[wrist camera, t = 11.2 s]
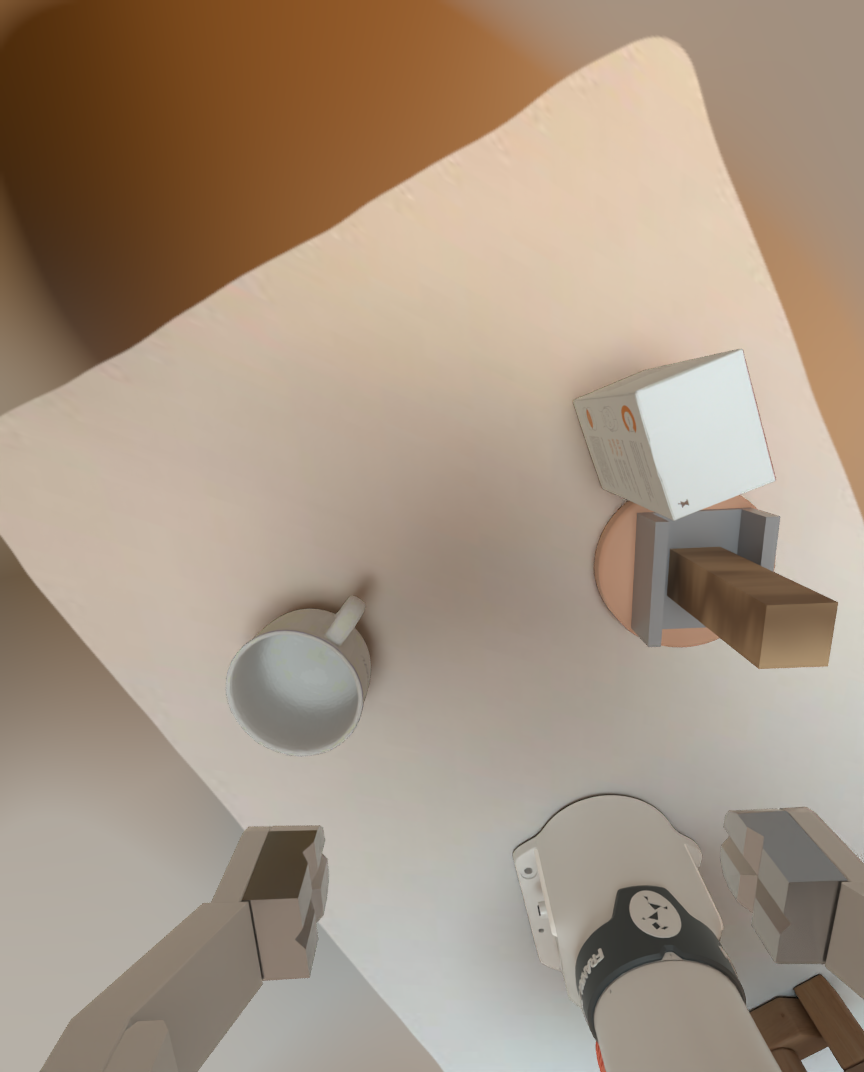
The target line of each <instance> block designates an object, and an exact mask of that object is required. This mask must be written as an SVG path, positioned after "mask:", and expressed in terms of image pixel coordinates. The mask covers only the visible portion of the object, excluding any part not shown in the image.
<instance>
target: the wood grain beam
mask: <svg viewBox="0 0 864 1072" xmlns="http://www.w3.org/2000/svg"><path fill="white" fill-rule="evenodd" d="M667 596H668V597H669V598H671V599H672V600H673V601H674V602H676V603H677V604H678V605H679V606H681V607H682V608H683V609H684V610H686V611H687V612H688V613H689V614H691V615H692V616H693V617H694V618H696V619H697V620H698V621H699V622H701V623H702V624H703V625H704V626H706V627H707V628H708V629H709V630H711V631H712V632H713V633H714V634H716V635H717V636H718V637H719V638H721V639H722V640H723V641H725V642H726V643H727V644H728V645H730V646H731V647H732V648H733V649H735V650H736V651H737V652H738V653H740V654H741V655H742V656H743V657H745V658H746V659H747V660H748V661H750V662H751V663H752V664H753V665H755V666H756V667H757V668H758V669H768V668H795V667H821V666H828V662H829V656H830V650H831V643H832V637H833V631H834V625H835V619H836V613H837V606H838V602H836V601H834V600H832V599H830V598H828V597H825V596H823V595H821V594H819V593H817V592H815V591H813V590H811V589H809V588H806V587H804V586H802V585H800V584H798V583H796V582H794V581H792V580H790V579H787V578H785V577H783V576H781V575H779V574H777V573H775V572H773V571H771V570H769V569H766V568H764V567H762V566H760V565H758V564H756V563H754V562H752V561H750V560H747V559H745V558H743V557H741V556H739V555H737V554H735V553H733V552H731V551H728V550H726V549H724V548H722V547H701V548H678V549H670V558H669V572H668V586H667Z"/></svg>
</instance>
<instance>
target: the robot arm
mask: <svg viewBox="0 0 864 1072" xmlns="http://www.w3.org/2000/svg"><path fill="white" fill-rule="evenodd" d="M723 827H724V828H725V830H726V831H727V833H728V834H729V837H728V838H727V840H726V841H725V842H724V843H723V844H722V845H721V855H720V861H721V866H722V870H723V875H724V878H725V880H726V882H727V885H728V887H729V889H730V891H731V892H732V894H733V896H734V897H735V899H736V901H737V902H738V903H740V904H741V905H742V906H744V907H745V908H746V909H748V910H749V911H750V912H752V913H753V914H752V927H753V928H754V930H755V932H756V933H757V935H758V936H759V938H760V940H761V941H762V943H763V944H764V946H765V948H766V949H767V951H768V953H769V954H770V956H771V957H772V959H773V961H774V962H775V964H825V967H826V968H827V969H828V970H830V971H831V972H832V973H833V974H834V975H835V976H837V977H838V978H839V979H840V980H841V981H843V982H844V983H845V984H846V985H847V986H848V987H850V988H851V989H852V990H853V991H854V992H855V993H857V994H858V995H859V996H860V997H861V998H863V999H864V863H863V862H862V861H861V860H860V859H859V858H858V857H857V856H856V855H855V854H854V853H853V852H852V851H851V850H850V849H849V848H848V847H847V845H846V844H845V843H844V842H843V841H842V840H841V839H840V838H839V837H838V836H837V835H836V834H835V833H834V832H833V831H832V830H831V829H830V828H829V827H828V826H827V825H826V823H825V822H824V821H823V820H822V819H821V818H820V817H819V816H818V815H817V814H816V813H815V812H814V811H812V810H811V809H809V808H807V807H796V808H780V809H755V810H734V811H728V813H727V814H726V815H725V819H724V826H723ZM324 843H325V837H324V830H323V827H322V826H320V825H319V826H273V827H248V828H247V829H246V830H245V831H244V832H243V833H242V836H241V838H240V840H239V842H238V844H237V847H236V849H235V851H234V853H233V855H232V857H231V860H230V862H229V864H228V866H227V868H226V871H225V873H224V875H223V877H222V879H221V882H220V884H219V886H218V888H217V890H216V892H215V895H214V897H213V899H212V901H211V903H203V904H202V905H200V906H199V907H198V908H197V909H196V910H195V911H194V912H193V913H192V914H190V915H189V916H188V917H187V918H186V919H185V920H183V921H182V922H181V923H180V924H179V925H178V926H177V927H175V928H174V929H173V930H172V931H171V932H170V933H169V934H168V935H166V937H164V938H163V939H162V940H161V941H160V942H159V943H157V944H156V945H155V946H154V947H153V948H152V949H151V950H150V951H148V952H147V953H146V954H145V955H144V956H143V957H142V958H140V959H139V960H138V961H137V962H136V963H135V964H133V965H132V966H131V967H130V968H129V969H128V970H127V971H126V972H124V973H123V974H122V975H121V976H120V977H119V978H118V979H117V980H115V981H114V982H113V983H112V984H111V985H110V986H109V987H107V989H105V990H104V991H103V992H102V993H101V994H100V995H98V996H97V997H96V998H95V999H94V1000H93V1001H92V1002H91V1003H89V1004H88V1005H87V1006H86V1007H85V1008H84V1009H82V1010H81V1011H80V1012H79V1013H78V1014H77V1015H76V1016H75V1017H73V1018H72V1019H71V1021H70V1022H69V1024H68V1025H67V1027H66V1029H65V1030H64V1032H63V1034H62V1035H61V1037H60V1039H59V1040H58V1042H57V1044H56V1045H55V1047H54V1049H53V1050H52V1052H51V1054H50V1055H49V1057H48V1059H47V1060H46V1062H45V1064H44V1066H43V1067H42V1069H41V1070H40V1072H198V1070H199V1069H200V1068H201V1066H202V1065H203V1064H204V1062H205V1061H206V1060H207V1058H208V1057H209V1055H210V1054H211V1053H212V1052H213V1050H214V1049H215V1047H216V1046H217V1045H218V1043H219V1042H220V1040H221V1039H222V1038H223V1037H224V1035H225V1034H226V1033H227V1031H228V1030H229V1029H230V1027H231V1026H232V1025H233V1023H234V1022H235V1021H236V1019H237V1018H238V1017H239V1015H240V1014H241V1013H242V1011H243V1010H244V1009H245V1007H246V1006H247V1005H248V1003H249V1002H250V1001H251V999H252V998H253V997H254V995H255V994H256V992H257V991H258V990H259V989H260V987H261V986H262V984H263V982H262V981H266V980H282V979H297V978H309V977H310V974H311V970H312V965H313V960H314V956H315V952H316V947H317V942H318V932H317V924H316V923H317V922H318V921H319V920H320V918H321V917H322V916H323V915H324V911H325V906H326V901H327V893H328V883H329V870H328V860H327V858H326V857H325V856H324V855H323V854H322V851H323V847H324ZM513 860H514V864H515V868H516V872H517V875H518V879H519V883H520V887H521V891H522V895H523V899H524V903H525V907H526V910H527V914H528V918H529V922H530V926H531V930H532V934H533V938H534V942H535V945H536V949H537V953H538V956H539V959H540V961H541V963H542V964H544V965H546V966H548V967H550V968H553V969H556V970H559V971H562V972H563V977H564V981H565V985H566V990H567V994H568V997H569V999H570V1000H571V1001H572V1002H573V1003H574V1004H576V1005H577V1006H579V1007H581V1008H582V1011H583V1014H584V1017H585V1019H586V1022H587V1023H588V1025H589V1028H590V1030H591V1032H592V1035H593V1037H594V1038H595V1040H596V1054H597V1060H598V1065H599V1067H600V1071H601V1072H782V1071H781V1069H780V1067H779V1065H778V1064H777V1062H776V1060H775V1058H774V1057H773V1055H772V1053H771V1051H770V1049H769V1048H768V1046H767V1044H766V1042H765V1040H764V1038H763V1037H762V1035H761V1033H760V1031H759V1029H758V1028H757V1026H756V1024H755V1022H754V1020H753V1018H752V1016H751V1015H750V1013H749V1011H748V1009H747V1007H746V998H745V994H744V990H743V988H742V985H741V983H740V981H739V979H738V976H737V973H736V970H735V968H734V966H733V964H732V962H731V960H730V958H729V957H728V955H727V953H726V952H725V951H724V950H723V948H722V946H721V944H720V942H719V941H720V938H721V931H722V930H723V923H722V920H721V917H720V915H719V913H718V911H717V909H716V906H715V904H714V902H713V900H712V898H711V896H710V894H709V892H708V890H707V888H706V885H705V883H704V881H703V879H702V877H701V875H700V873H699V871H698V870H699V867H700V864H701V861H702V853H701V851H700V849H699V847H698V845H697V844H696V843H695V842H694V841H693V840H691V839H690V838H688V837H686V836H684V835H682V834H680V833H678V832H677V831H676V830H675V829H674V828H673V827H672V825H671V824H670V823H669V821H668V820H667V819H666V817H665V816H664V815H663V814H662V813H661V812H659V811H658V810H657V809H656V808H654V807H653V806H651V805H649V804H647V803H645V802H643V801H641V800H638V799H635V798H631V797H626V796H618V795H606V796H597V797H592V798H588V799H584V800H581V801H579V802H576V803H574V804H572V805H570V806H568V807H566V808H565V809H563V810H562V811H560V812H559V813H558V814H556V815H555V816H554V817H553V818H552V819H551V820H550V821H549V822H548V823H547V825H546V826H545V827H544V828H543V830H542V831H541V832H540V833H539V834H538V835H537V836H536V837H535V838H533V839H531V840H529V841H527V842H526V843H524V844H522V845H521V846H519V847H518V848H517V849H516V850H515V851H514V853H513ZM528 867H529V868H528Z"/></svg>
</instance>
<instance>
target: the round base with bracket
mask: <svg viewBox="0 0 864 1072" xmlns="http://www.w3.org/2000/svg"><path fill="white" fill-rule="evenodd" d="M779 522H780V516H777V515H774V514H771V513H767V512H764V511H761V510H758V509H757V508H756V507H755V506H754V505H753V504H751V503H750V502H749V501H748V500H746V499H745V498H743V497H742V496H740V495H738V496H735V497H733V498H730V499H728V500H725V501H722V502H720V503H717V504H715V505H712V506H710V507H707V508H704V509H702V510H699V511H697V512H694V513H692V514H689V515H687V516H685V517H682V518H680V519H677V520H675V521H674V520H671V519H669V518H667V517H665V516H662V515H660V514H658V513H656V512H654V511H651V510H649V509H647V508H645V507H642V506H640V505H638V504H636V503H633V502H631V501H629V500H628V501H627V502H626V503H625V504H624V505H623V506H622V507H620V508H619V510H618V511H617V512H616V513H615V514H614V515H613V516H612V518H611V519H610V520H609V522H608V523H607V525H606V527H605V528H604V530H603V532H602V534H601V536H600V539H599V542H598V544H597V549H596V553H595V561H594V574H595V580H596V585H597V588H598V591H599V593H600V595H601V597H602V599H603V601H604V603H605V604H606V606H607V607H608V608H609V610H610V611H611V612H612V613H613V614H614V615H615V617H616V618H617V619H618V620H619V621H620V622H621V623H622V624H623V625H624V626H625V627H626V628H627V629H628V630H629V631H631V632H632V633H633V634H635V635H636V636H638V637H640V639H641V640H642V641H643V642H644V643H645V644H646V645H647V646H648V647H659V646H668V647H691V646H697V645H701V644H705V643H708V642H711V641H714V640H716V639H719V637H718V636H717V635H716V634H714V633H713V632H712V631H711V630H709V629H708V628H707V627H706V626H704V625H703V624H702V623H701V622H699V621H698V620H697V619H696V618H694V617H693V616H692V615H691V614H689V613H688V612H687V611H686V610H684V609H683V608H682V607H681V606H679V605H678V604H677V603H676V602H674V601H673V600H672V599H671V598H669V597H668V596H667V586H668V572H669V558H670V549H678V548H701V547H722V548H724V549H726V550H728V551H731V552H733V553H735V554H737V555H739V556H741V557H743V558H745V559H747V560H750V561H752V562H754V563H756V564H758V565H760V566H762V567H764V568H766V569H769V570H771V571H773V572H774V568H775V556H776V547H777V539H778V531H779Z"/></svg>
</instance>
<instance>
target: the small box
mask: <svg viewBox="0 0 864 1072" xmlns="http://www.w3.org/2000/svg"><path fill="white" fill-rule="evenodd" d="M573 404H574V407H575V410H576V413H577V416H578V419H579V422H580V425H581V428H582V431H583V434H584V437H585V440H586V443H587V446H588V448H589V451H590V454H591V457H592V460H593V463H594V466H595V469H596V472H597V475H598V478H599V480H600V483H601V486H602V488H603V489H604V490H606V491H608V492H611V493H613V494H615V495H618V496H620V497H622V498H624V499H627V500H629V501H631V502H633V503H636V504H638V505H640V506H642V507H645V508H647V509H649V510H651V511H654V512H656V513H658V514H660V515H662V516H665V517H667V518H669V519H671V520H674V521H675V520H677V519H680V518H682V517H685V516H687V515H689V514H692V513H694V512H697V511H699V510H702V509H704V508H707V507H710V506H712V505H715V504H717V503H720V502H722V501H725V500H728V499H730V498H733V497H735V496H738V495H740V494H743V493H745V492H748V491H751V490H753V489H756V488H758V487H761V486H763V485H766V484H768V483H771V482H774V481H775V480H776V477H775V473H774V469H773V465H772V462H771V458H770V454H769V450H768V446H767V442H766V438H765V434H764V430H763V427H762V423H761V418H760V414H759V411H758V407H757V402H756V399H755V395H754V391H753V387H752V383H751V380H750V375H749V371H748V367H747V363H746V360H745V356H744V351H743V349H737V350H732V351H727V352H723V353H719V354H714V355H710V356H705V357H700V358H696V359H692V360H687V361H682V362H678V363H673V364H669V365H664V366H660V367H656V368H652V369H648V370H644V371H642V372H639V373H637V374H634V375H632V376H630V377H627V378H625V379H622V380H620V381H618V382H615V383H613V384H610V385H608V386H606V387H603V388H601V389H598V390H596V391H594V392H591V393H589V394H586V395H584V396H581V397H579V398H577V399H575V400H573Z"/></svg>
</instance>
